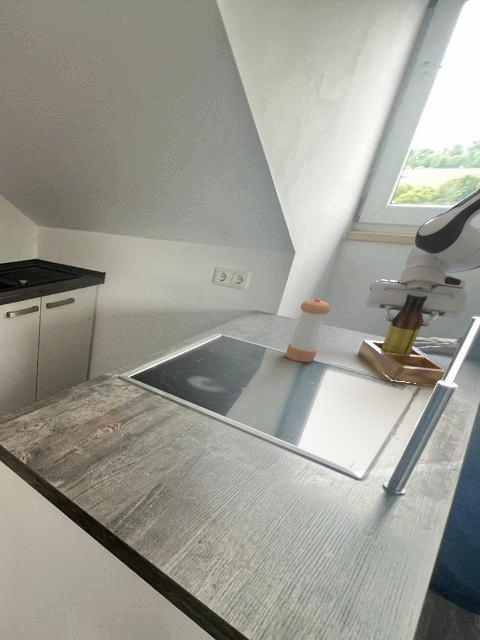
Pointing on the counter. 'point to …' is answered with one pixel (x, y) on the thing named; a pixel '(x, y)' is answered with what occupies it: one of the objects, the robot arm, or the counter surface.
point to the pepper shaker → (308, 331)
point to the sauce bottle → (405, 325)
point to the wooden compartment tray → (403, 364)
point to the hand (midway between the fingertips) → (406, 323)
